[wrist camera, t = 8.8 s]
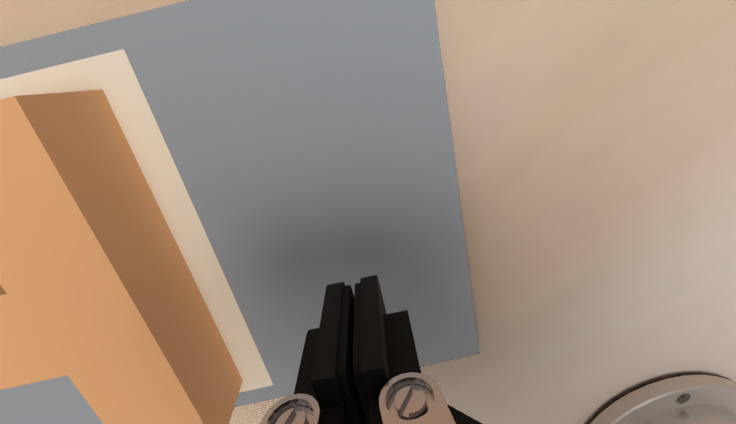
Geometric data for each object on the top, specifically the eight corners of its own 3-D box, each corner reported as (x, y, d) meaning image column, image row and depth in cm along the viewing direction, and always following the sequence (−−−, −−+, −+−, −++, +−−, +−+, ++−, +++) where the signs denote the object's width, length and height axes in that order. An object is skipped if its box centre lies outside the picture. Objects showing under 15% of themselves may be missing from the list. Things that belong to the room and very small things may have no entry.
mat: (476, 347, 21) (479, 353, 20) (-5, 452, 21) (-12, 461, 21) (423, -54, 13) (426, -59, 13) (-315, 129, 14) (-338, 131, 13)
